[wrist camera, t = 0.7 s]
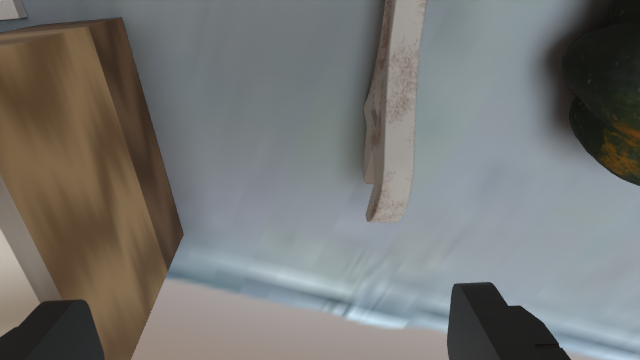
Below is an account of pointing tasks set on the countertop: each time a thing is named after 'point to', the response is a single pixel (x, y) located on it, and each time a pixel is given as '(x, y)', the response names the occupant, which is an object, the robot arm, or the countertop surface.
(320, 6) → the countertop surface
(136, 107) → the cabinet
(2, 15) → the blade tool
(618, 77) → the squash
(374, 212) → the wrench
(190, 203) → the countertop surface
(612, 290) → the countertop surface
